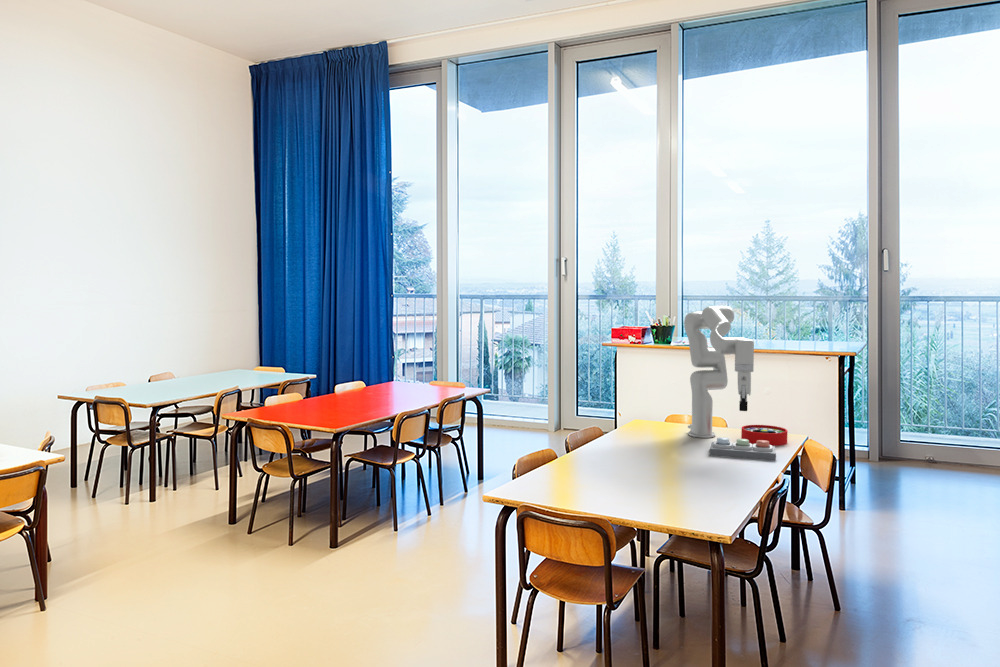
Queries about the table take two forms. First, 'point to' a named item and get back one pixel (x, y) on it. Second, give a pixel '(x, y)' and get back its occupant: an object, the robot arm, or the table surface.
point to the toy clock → (765, 434)
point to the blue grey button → (723, 441)
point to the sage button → (742, 442)
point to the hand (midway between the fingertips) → (743, 410)
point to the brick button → (762, 443)
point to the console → (743, 451)
